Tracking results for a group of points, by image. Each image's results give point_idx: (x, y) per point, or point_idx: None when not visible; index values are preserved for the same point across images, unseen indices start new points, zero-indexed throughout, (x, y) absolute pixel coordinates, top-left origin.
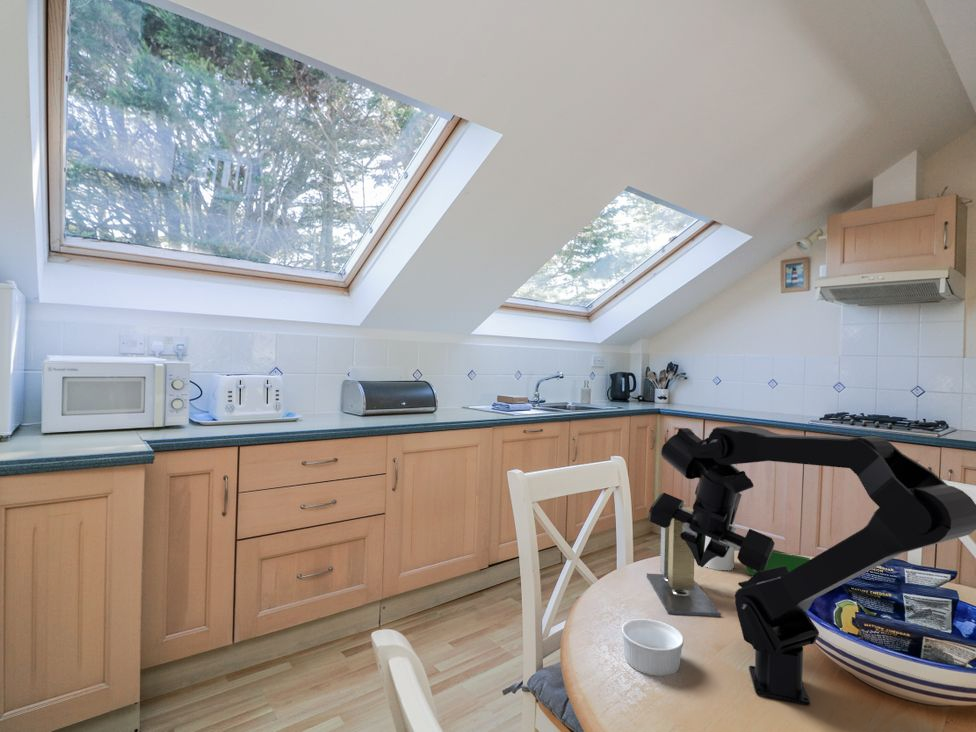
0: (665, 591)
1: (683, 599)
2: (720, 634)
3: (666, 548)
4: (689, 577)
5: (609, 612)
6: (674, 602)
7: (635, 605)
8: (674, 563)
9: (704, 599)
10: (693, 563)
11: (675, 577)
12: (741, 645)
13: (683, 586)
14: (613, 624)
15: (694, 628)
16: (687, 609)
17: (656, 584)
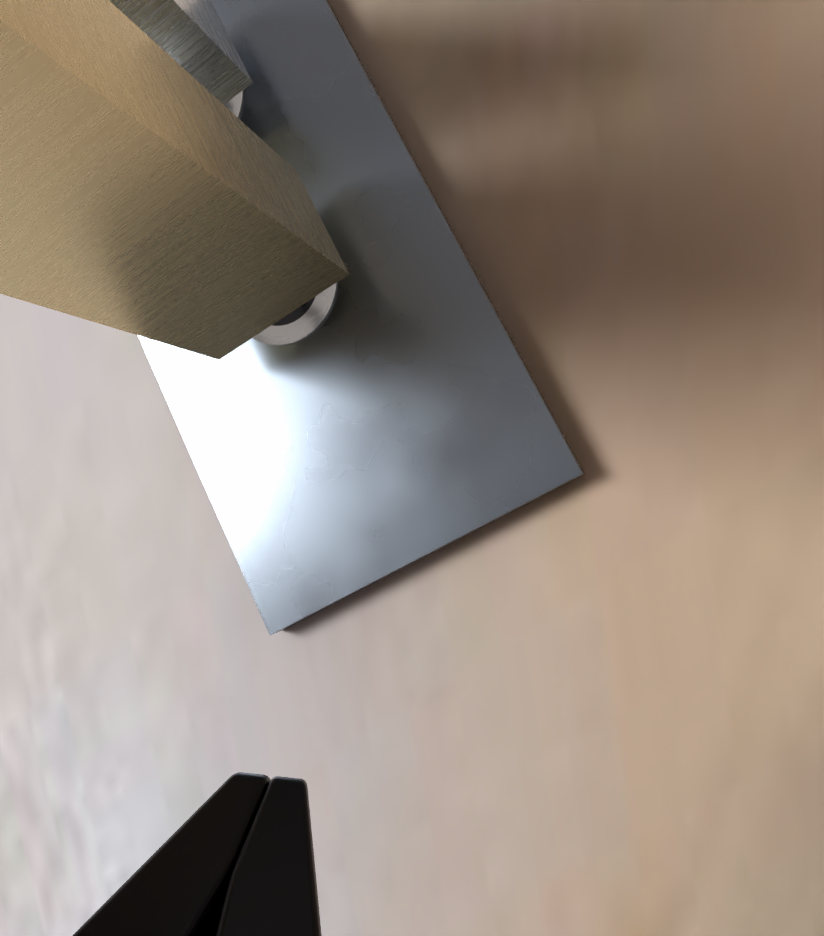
0: None
1: (319, 394)
2: (627, 757)
3: None
4: (272, 261)
5: (18, 791)
6: (278, 485)
7: (104, 618)
8: (84, 304)
9: (443, 296)
10: (226, 195)
11: (181, 331)
12: (788, 859)
13: (273, 311)
14: (68, 930)
15: (458, 753)
16: (370, 544)
17: None
